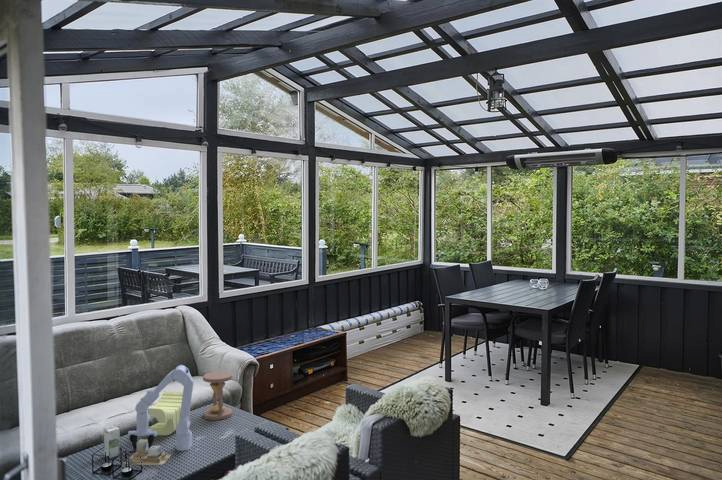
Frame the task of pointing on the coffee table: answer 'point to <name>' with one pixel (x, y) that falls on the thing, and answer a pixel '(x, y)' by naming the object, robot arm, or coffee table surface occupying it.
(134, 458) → the pallet
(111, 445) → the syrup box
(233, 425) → the coffee table surface
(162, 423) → the slatted curved stool
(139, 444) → the billet
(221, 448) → the coffee table surface
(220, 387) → the hourglass
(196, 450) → the coffee table surface
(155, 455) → the billet
